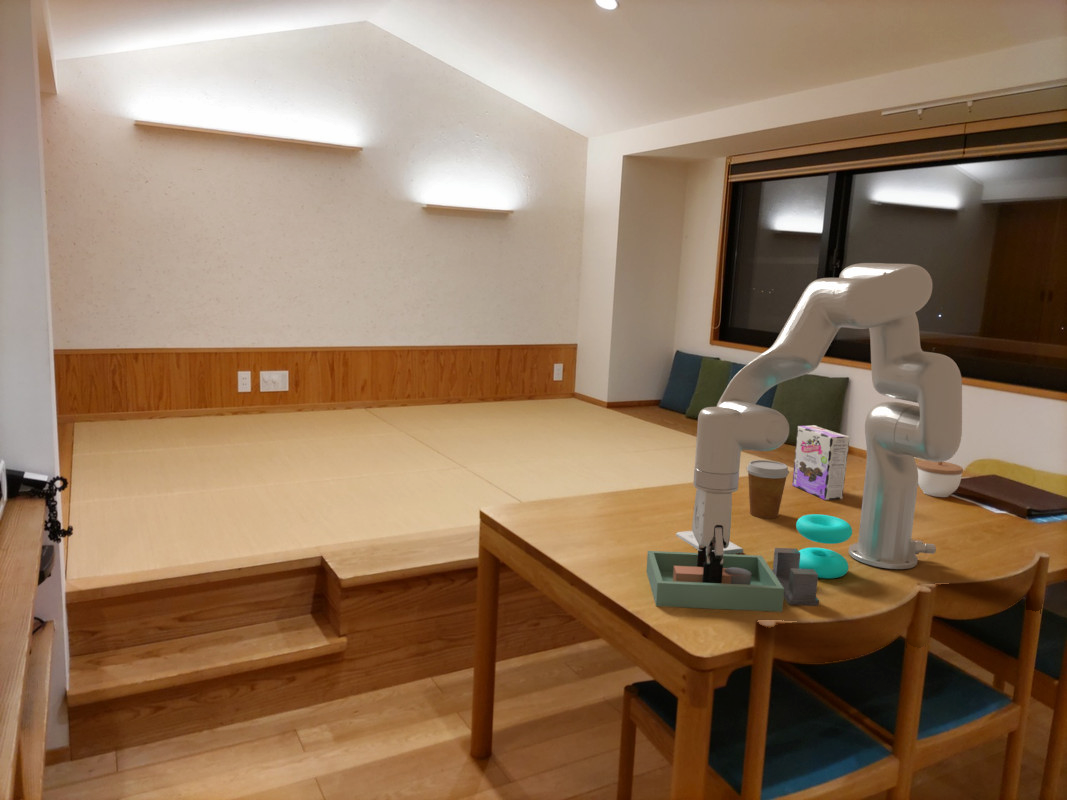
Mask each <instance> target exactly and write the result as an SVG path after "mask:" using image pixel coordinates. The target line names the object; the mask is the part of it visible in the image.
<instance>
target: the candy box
mask: <svg viewBox="0 0 1067 800" xmlns="http://www.w3.org/2000/svg"><path fill="white" fill-rule="evenodd" d="M850 438H851V437H850V435H845V434H842V433H839V432H835V431H832V430H829V429H827V428H823V427H821V426H818V425H817V424H816V425H814V424H812V425H798V426H797V430H796V442H795V453H794V461H793V462H794V463H793V474H792V483H791V484H792V486H793V487H795V488H797V489H799V490H802V491H804V492H806V493H809V494H811V495H812V496H816V497H817V498H819V499H821V500H824V501H830V500H831V501H832V500H834V501H835V500H843V497H844V488H845V479H846V473H847V472H846V471H847V462H848V456H849V455H848V453H849V446H850V445H849V444H850Z"/></svg>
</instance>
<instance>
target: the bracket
mask: <svg viewBox="0 0 1067 800" xmlns="http://www.w3.org/2000/svg"><path fill="white" fill-rule="evenodd" d="M799 563H800V552H799V549H797V548H794V547H793V548H787V547H774V551H773V565H772V566H773V567H772V569H771V570H772V572H773V573H774V574H775V576H776V577H777V579H778V580H779V582H780V583H781V585H782V586H783V587H784V597H783V599H785V601H786V602H787V604H788V605H790V606H809V607H810V606H811V607H819V604H820V599H819V598H818V597H817V589H818V588H817V587H818V582H819V581H818V580H819V578H818V574H817V573H816V571H815V570H814V569H799Z"/></svg>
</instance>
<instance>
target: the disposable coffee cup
mask: <svg viewBox="0 0 1067 800" xmlns="http://www.w3.org/2000/svg"><path fill="white" fill-rule="evenodd" d="M788 468H789V467H788V465H786V463H783V462H779V461H777V460H776V461H774V460H768V459H767V460H766V459H755V460H750V461H749V462H748V465H747V466H746V470H747V471H746V472H747V475H748V476H747V477H748V495H749V499H748V500H749V513H750V514H751V515H752V516H754V517H758V518H761V519H776V518H778V516H779V512H780V507H781V505H782V499H783V495H784V490H785V486H786V480H787V477H789V476H788V475H789V474H790V471H789V469H788Z"/></svg>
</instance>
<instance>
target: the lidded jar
mask: <svg viewBox="0 0 1067 800" xmlns="http://www.w3.org/2000/svg"><path fill="white" fill-rule="evenodd" d="M916 465H917V469H918V487H919V488H920V489H921V491H923V494H925V495H928V496H929V497H930V496H931V497H937V498H949V497H950V496H951V495H952V494H953V493H954V492H956V491H957V489H959V486H960V484H961V481H962V475H963V471H964V468H963V467H962V466H960V465H958V464H956V463H952V462H947V461H943V462H933V461H928V460H919V461H917V462H916Z"/></svg>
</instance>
